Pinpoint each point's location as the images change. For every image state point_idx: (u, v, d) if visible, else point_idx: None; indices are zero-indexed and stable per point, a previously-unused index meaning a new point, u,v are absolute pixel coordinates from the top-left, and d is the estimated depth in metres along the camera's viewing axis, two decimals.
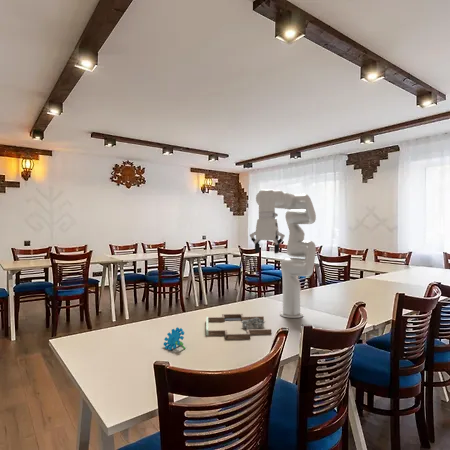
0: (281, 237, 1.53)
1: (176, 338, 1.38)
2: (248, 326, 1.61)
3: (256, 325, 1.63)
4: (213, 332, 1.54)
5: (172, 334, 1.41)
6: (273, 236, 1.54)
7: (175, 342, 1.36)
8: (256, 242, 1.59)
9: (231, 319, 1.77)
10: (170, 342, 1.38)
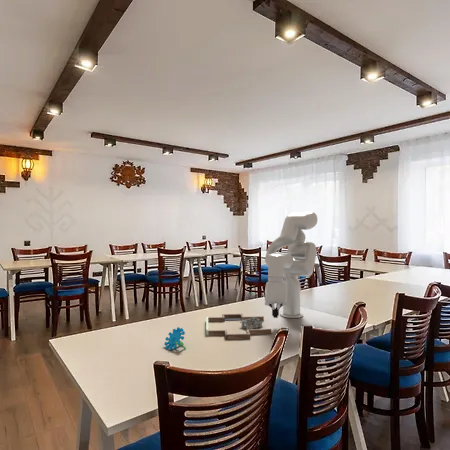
0: (283, 304, 1.65)
1: (177, 338, 1.38)
2: (248, 326, 1.62)
3: (255, 324, 1.64)
4: (213, 332, 1.54)
5: (173, 334, 1.41)
6: (285, 299, 1.64)
7: (175, 342, 1.36)
8: (274, 307, 1.64)
9: (231, 319, 1.77)
10: (171, 342, 1.38)
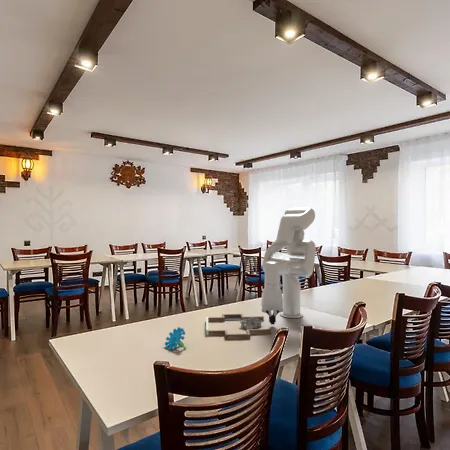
0: (280, 310, 1.66)
1: (177, 338, 1.38)
2: (248, 326, 1.62)
3: (255, 324, 1.64)
4: (213, 332, 1.54)
5: (173, 334, 1.41)
6: (281, 306, 1.64)
7: (176, 342, 1.37)
8: None
9: (231, 319, 1.77)
10: (171, 342, 1.38)
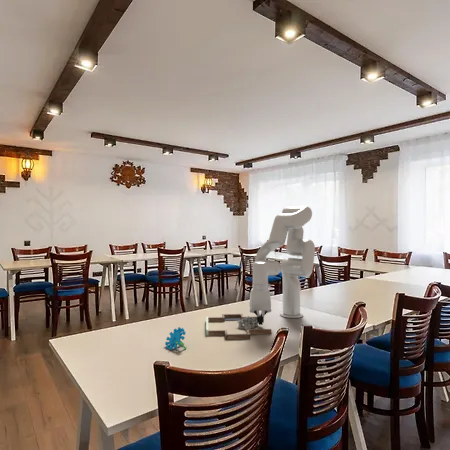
0: (268, 311, 1.66)
1: (177, 338, 1.38)
2: (247, 326, 1.62)
3: (253, 324, 1.65)
4: (213, 332, 1.54)
5: (174, 334, 1.41)
6: (269, 306, 1.64)
7: (176, 342, 1.37)
8: (259, 314, 1.65)
9: (231, 319, 1.77)
10: (171, 342, 1.38)
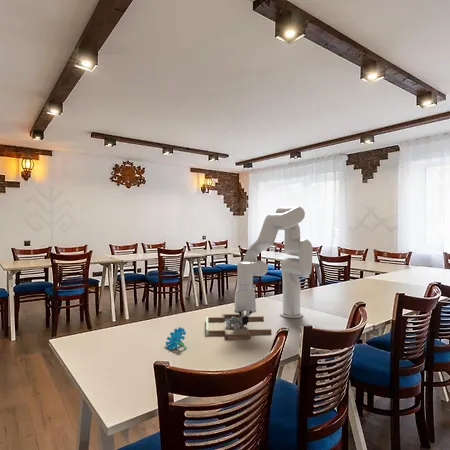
0: (253, 311, 1.65)
1: (177, 338, 1.38)
2: (236, 326, 1.62)
3: (240, 323, 1.66)
4: (213, 332, 1.54)
5: (174, 334, 1.41)
6: (254, 307, 1.64)
7: (176, 342, 1.37)
8: (243, 314, 1.64)
9: None
10: (172, 342, 1.38)
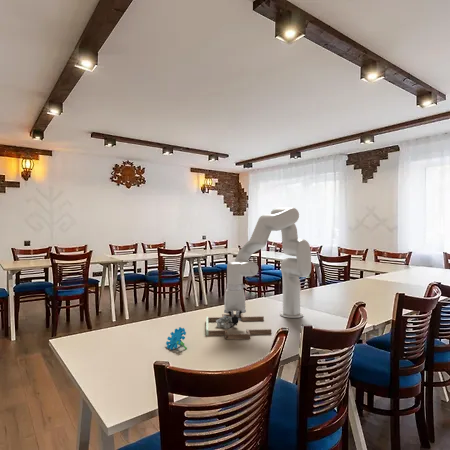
0: (242, 311, 1.65)
1: (178, 338, 1.38)
2: (226, 324, 1.64)
3: (231, 322, 1.67)
4: (213, 332, 1.54)
5: (175, 334, 1.41)
6: (243, 307, 1.63)
7: (176, 342, 1.37)
8: (233, 314, 1.64)
9: None
10: (172, 342, 1.39)
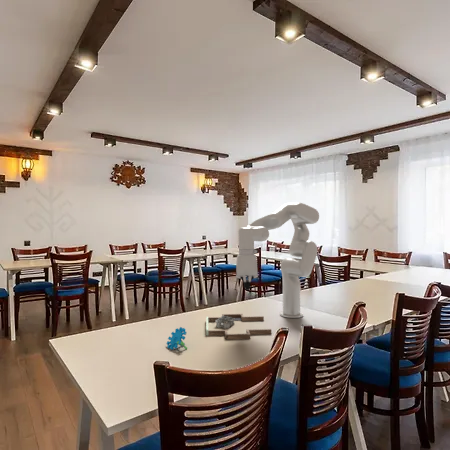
0: (255, 276, 1.65)
1: (178, 338, 1.38)
2: (226, 324, 1.64)
3: (230, 322, 1.68)
4: (213, 332, 1.54)
5: (175, 333, 1.41)
6: (256, 271, 1.64)
7: (177, 342, 1.37)
8: (245, 279, 1.64)
9: None
10: (172, 341, 1.39)
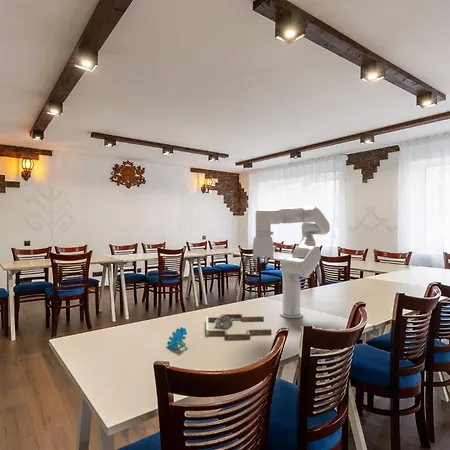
0: (271, 257, 1.70)
1: (178, 338, 1.38)
2: (226, 324, 1.64)
3: (229, 322, 1.68)
4: (213, 332, 1.54)
5: (176, 333, 1.42)
6: (272, 253, 1.69)
7: (177, 342, 1.37)
8: None
9: None
10: (173, 341, 1.39)
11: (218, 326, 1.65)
